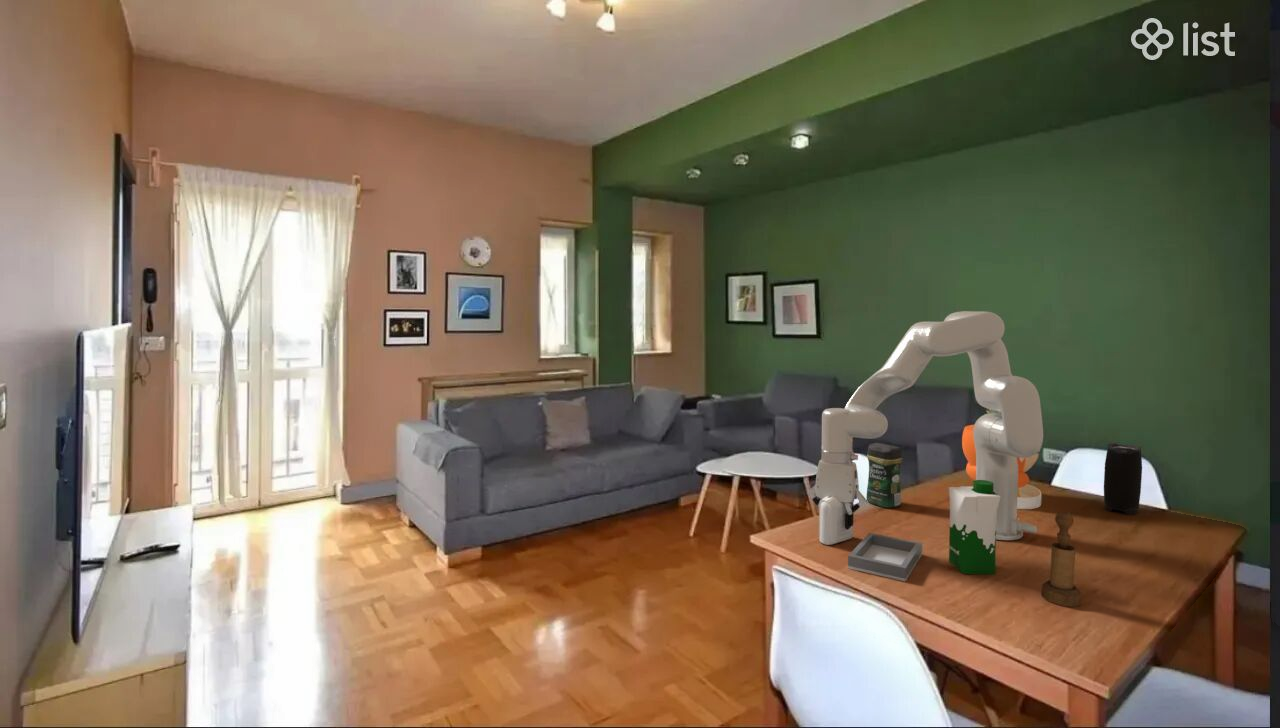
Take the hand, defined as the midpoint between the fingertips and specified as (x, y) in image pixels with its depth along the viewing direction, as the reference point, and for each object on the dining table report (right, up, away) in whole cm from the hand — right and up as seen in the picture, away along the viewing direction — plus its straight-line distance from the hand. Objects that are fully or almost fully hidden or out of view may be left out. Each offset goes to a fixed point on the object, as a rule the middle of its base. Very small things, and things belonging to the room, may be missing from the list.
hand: (836, 524), depth 156 cm
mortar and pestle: (+35, -7, -33) cm, 49 cm away
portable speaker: (+89, -1, +19) cm, 91 cm away
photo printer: (0, -4, 0) cm, 4 cm away
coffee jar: (+24, -1, +29) cm, 37 cm away
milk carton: (+25, -5, -18) cm, 31 cm away
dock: (+7, -5, -14) cm, 16 cm away
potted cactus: (+62, 0, +32) cm, 69 cm away
